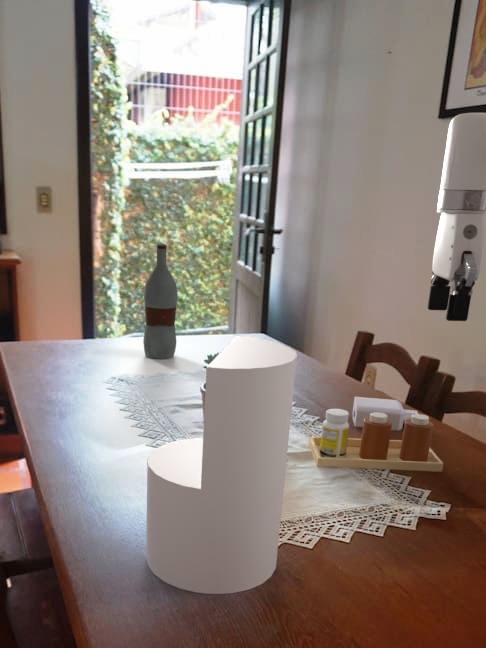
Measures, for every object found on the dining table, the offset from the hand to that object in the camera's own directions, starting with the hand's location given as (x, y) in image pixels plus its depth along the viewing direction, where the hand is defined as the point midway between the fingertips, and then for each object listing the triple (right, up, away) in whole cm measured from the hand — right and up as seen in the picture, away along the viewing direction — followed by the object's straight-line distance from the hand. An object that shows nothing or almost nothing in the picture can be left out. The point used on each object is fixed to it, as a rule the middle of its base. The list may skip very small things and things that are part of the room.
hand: (446, 315), depth 112 cm
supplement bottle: (-16, -23, +14) cm, 31 cm away
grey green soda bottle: (-52, +6, +81) cm, 97 cm away
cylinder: (-39, -37, -21) cm, 58 cm away
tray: (-9, -24, +14) cm, 29 cm away
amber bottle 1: (-9, -23, +14) cm, 28 cm away
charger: (-1, -16, +33) cm, 37 cm away
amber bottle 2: (-1, -23, +14) cm, 27 cm away
